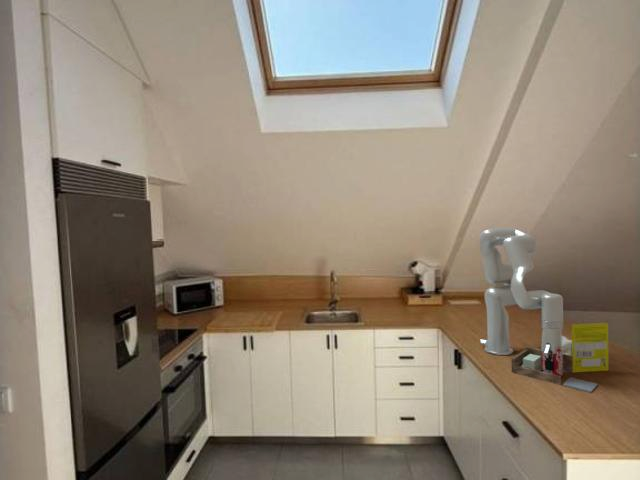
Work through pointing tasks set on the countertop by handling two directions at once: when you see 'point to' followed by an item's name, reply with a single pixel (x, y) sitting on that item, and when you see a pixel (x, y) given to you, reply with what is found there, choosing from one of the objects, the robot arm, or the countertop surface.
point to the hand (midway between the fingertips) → (552, 367)
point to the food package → (590, 347)
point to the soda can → (555, 363)
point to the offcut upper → (532, 361)
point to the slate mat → (580, 384)
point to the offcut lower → (535, 368)
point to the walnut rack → (518, 362)
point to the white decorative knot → (566, 346)
